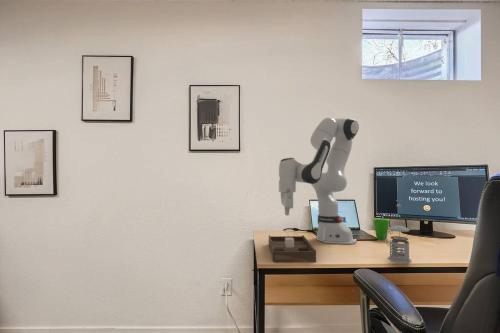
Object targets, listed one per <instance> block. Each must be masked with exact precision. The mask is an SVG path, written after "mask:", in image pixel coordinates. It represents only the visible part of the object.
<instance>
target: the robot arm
mask: <svg viewBox="0 0 500 333" xmlns="http://www.w3.org/2000/svg"><path fill="white" fill-rule="evenodd" d="M359 128H360V127H359V122H358V121H357V120H356V119H354V118H350V117H349V118H345V117H342V118H341V117H340V118H331V117H326V118H323V119H322V120H321V121H320V122H319V124H318V125H317V126H316V127H315V129H314V131H313V133H312V135H311V137H310V139H309V140H310V144H311V146H312V147H313V148H314V149H315V150H316V152H315V154H314V156H313V159H312V161H311V162H309V163H307V164H303V163H300V162H299V161H297V160H296V159H295V158H294V157H286V158H282V159H281V160H280V161H279V165H278V166H279V167H278V176H279V181H278V192H279V193H280V202H281V205H282V206H283V207H284V215H285V216H288V217H289V216H290V210H291V209H294V193H296V191H297V190H296V189H297V186H296V184H297V183H305V184H310V185H311V186H312V187H313V189H314V191H315V194H316V198H317V203H318V204H317V205H318V215H317V225H318V226H317V231H316V232H317V233H316V237H315V240H317V241H319V242H322V243H325V244H338V245H354V244H356V243H357V238H356V239H353V236H354V235H353V232H352V230H351V228H350V227H348V226H347V225H346V224H344V222H342V220H343V216H340V215H339V203H338V200H337V199H336V197H335V195H334V193H338V192H343V191H344V190H345V189H346V187H347V184H348V182H347V178H346V177H345V168H346V165H347V162H348V158H350V154H351V150H352V147H353V139H354V138H356V137H355V136H356V135H357V133H358V131H359ZM333 139H334V142H333V143H332V140H333ZM331 143H332V146H331ZM325 163H326V164H327V171H326V172H323V169H324V166H325Z"/></svg>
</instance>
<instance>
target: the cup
mask: <svg viewBox="0 0 500 333" xmlns="http://www.w3.org/2000/svg"><path fill="white" fill-rule="evenodd" d="M372 221H373V227H374V231H375V238H376V239H377V240H379V241H387V238H388V234H387V233H388V232H387V231H389V224H390V220H389V219H384V218H374V219H373V220H372ZM386 232H387V233H386ZM385 233H386V235H385ZM384 236H385V239H384Z"/></svg>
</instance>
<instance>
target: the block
mask: <svg viewBox="0 0 500 333" xmlns="http://www.w3.org/2000/svg"><path fill="white" fill-rule="evenodd" d="M285 247H286V248H294V239H293V238H285Z"/></svg>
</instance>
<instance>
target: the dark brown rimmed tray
mask: <svg viewBox="0 0 500 333" xmlns="http://www.w3.org/2000/svg"><path fill="white" fill-rule="evenodd" d="M285 238H293V239H294V248H286V247H285ZM268 247H269V251H270V254H271V260H272V263H317V250H316V248H315V247H314V246H313V244H311V243H310V242H309V240H308V239H307V238H306V237H305V235H301V236H298V235H297V236H295V235H293V236H291V235H290V236H289V235H287V236H284V235H283V236H273V235H268Z"/></svg>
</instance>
